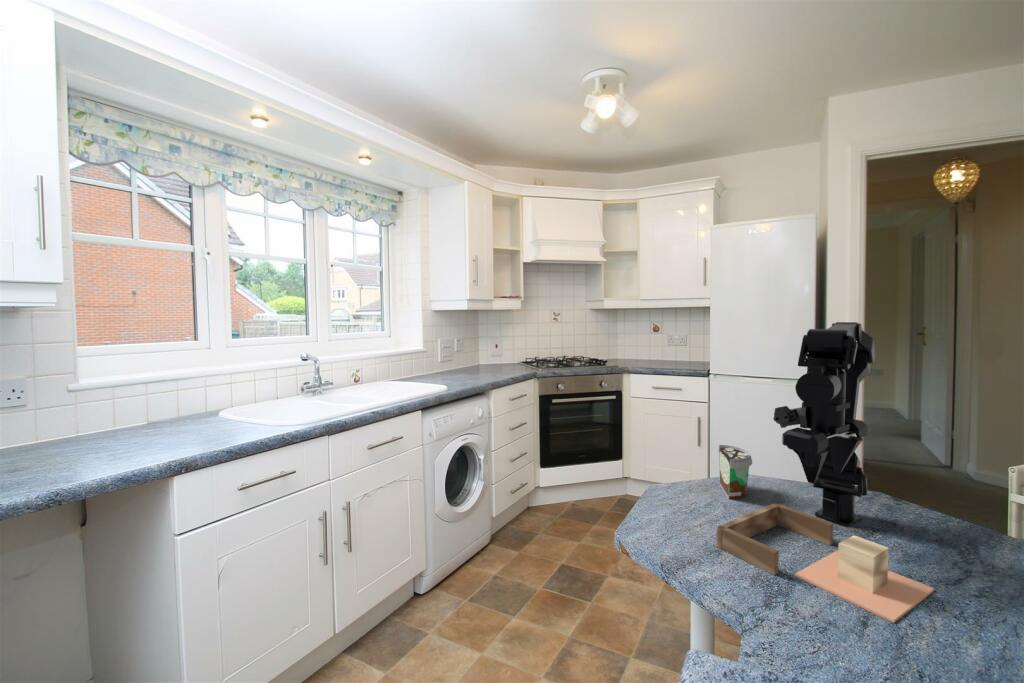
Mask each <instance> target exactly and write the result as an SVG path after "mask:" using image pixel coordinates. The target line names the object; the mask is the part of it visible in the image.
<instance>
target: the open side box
mask: <svg viewBox="0 0 1024 683" xmlns="http://www.w3.org/2000/svg"><path fill="white" fill-rule="evenodd" d="M834 525H835V522H834V523H833V522H832V521H829V520H828V521H827V520H826V519H823V518H821V517H818V516H814V515H811V514H808V513H805V512H803V511H800V510H797V509H794V508H791V507H788V506H785V505H784V504H780V503H777V502H774V503H772V504H769V505H767V506H764V507H763V508H760V509H757V510H755V511H753V512H749V513H748V514H745V515H742V516H740V517H738V518H735V519H732V520H731V521H728V522H726V523H723V524H720V525H718V526H717V527H716V548H718V547H719V548H718V549H720V548H721V549H720V550H722V549H723V550H722V551H724V550H725V551H724V552H726V551H727V552H726V553H728V554H730V553H731V554H730V555H732V556H734V557H736V558H738V559H741V560H742V561H744V562H747V563H748V564H750V565H753V566H755V567H757V568H759V569H761V570H763V571H765V572H766V573H769V574H771V575H773V576H776V575H777V574H779V566H780V565H779V564H780V563H779V562H780V561H779V555H780V552H779V551H780V550H778V549H776V548H774V547H771V546H769V545H766V544H765V543H762V542H760V541H758V540H756V539H754V538H752V537H754V536H756V535H758V534H760V533H763V532H765V531H767V530H769V529H771V528H774V527H776V526H779V527H782V528H784V529H787V530H790V531H792V532H794V533H797V534H799V535H803V536H804V537H808V538H810V539H811V540H815V541H818V542H820V543H822V544H825V545H828V546H831V545H834V527H835V526H834Z"/></svg>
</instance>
